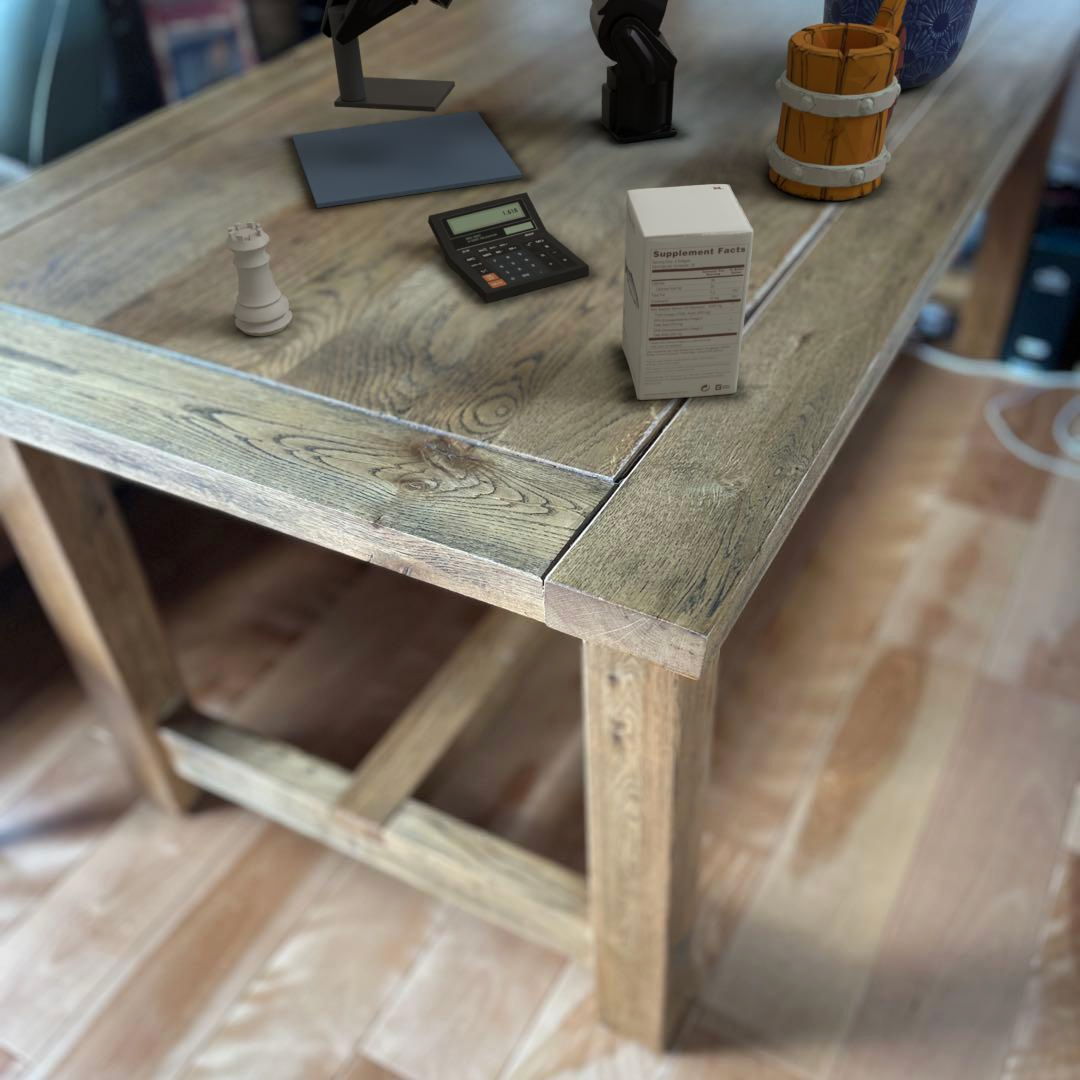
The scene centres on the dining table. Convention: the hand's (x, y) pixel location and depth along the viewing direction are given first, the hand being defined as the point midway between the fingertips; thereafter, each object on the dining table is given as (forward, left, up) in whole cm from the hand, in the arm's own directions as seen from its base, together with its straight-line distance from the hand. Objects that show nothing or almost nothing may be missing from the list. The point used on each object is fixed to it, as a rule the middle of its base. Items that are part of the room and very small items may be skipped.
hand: (331, 38), depth 102 cm
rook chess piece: (+11, +28, -13) cm, 33 cm away
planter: (-63, -5, -13) cm, 64 cm away
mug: (-45, +16, -13) cm, 49 cm away
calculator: (-10, +24, -13) cm, 29 cm away
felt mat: (-6, -1, -12) cm, 14 cm away
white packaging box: (-17, +45, -13) cm, 49 cm away
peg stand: (-5, -1, -6) cm, 8 cm away
